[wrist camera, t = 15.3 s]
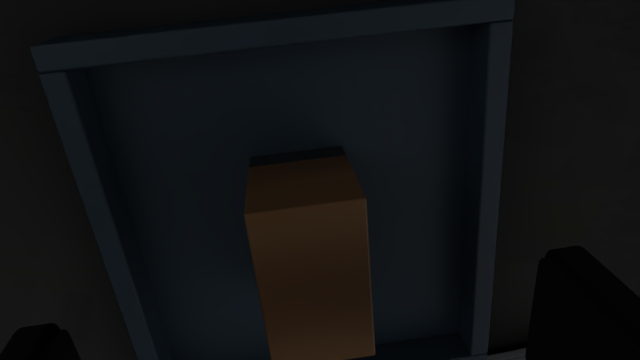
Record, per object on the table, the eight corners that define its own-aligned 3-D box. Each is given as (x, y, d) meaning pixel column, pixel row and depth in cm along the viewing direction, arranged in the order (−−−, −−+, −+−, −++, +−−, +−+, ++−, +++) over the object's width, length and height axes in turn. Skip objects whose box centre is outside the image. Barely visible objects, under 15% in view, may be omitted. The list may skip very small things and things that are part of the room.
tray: (59, 36, 15) (26, 46, 13) (484, -10, 16) (516, -8, 14) (168, 376, 22) (157, 419, 20) (466, 330, 23) (487, 367, 21)
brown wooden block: (249, 156, 17) (243, 214, 13) (342, 144, 17) (366, 198, 13) (271, 288, 19) (272, 372, 15) (353, 276, 20) (376, 355, 15)
